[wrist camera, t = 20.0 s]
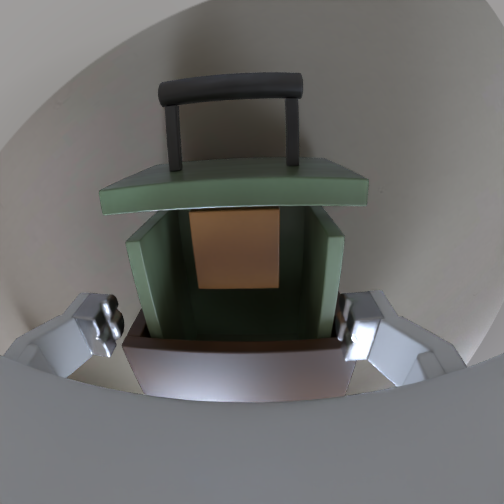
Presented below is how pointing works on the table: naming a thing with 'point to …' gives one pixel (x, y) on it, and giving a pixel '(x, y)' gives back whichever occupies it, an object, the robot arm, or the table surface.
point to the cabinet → (238, 367)
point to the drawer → (237, 195)
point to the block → (236, 247)
